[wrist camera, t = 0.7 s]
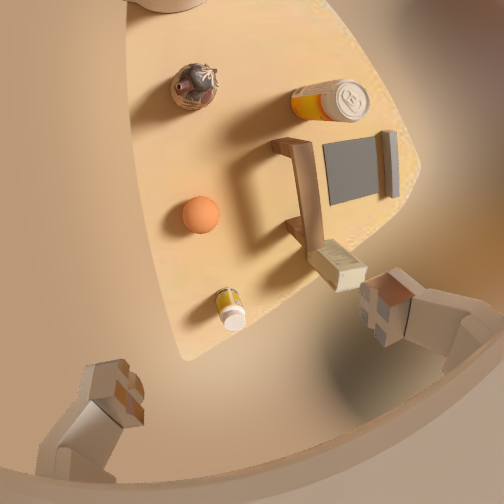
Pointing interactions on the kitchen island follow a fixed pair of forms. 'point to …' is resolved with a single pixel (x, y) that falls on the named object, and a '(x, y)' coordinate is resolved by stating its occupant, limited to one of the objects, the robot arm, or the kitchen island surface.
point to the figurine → (194, 86)
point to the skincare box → (337, 266)
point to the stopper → (391, 163)
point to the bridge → (304, 192)
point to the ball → (200, 215)
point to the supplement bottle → (230, 309)
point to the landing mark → (351, 169)
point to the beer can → (331, 101)
